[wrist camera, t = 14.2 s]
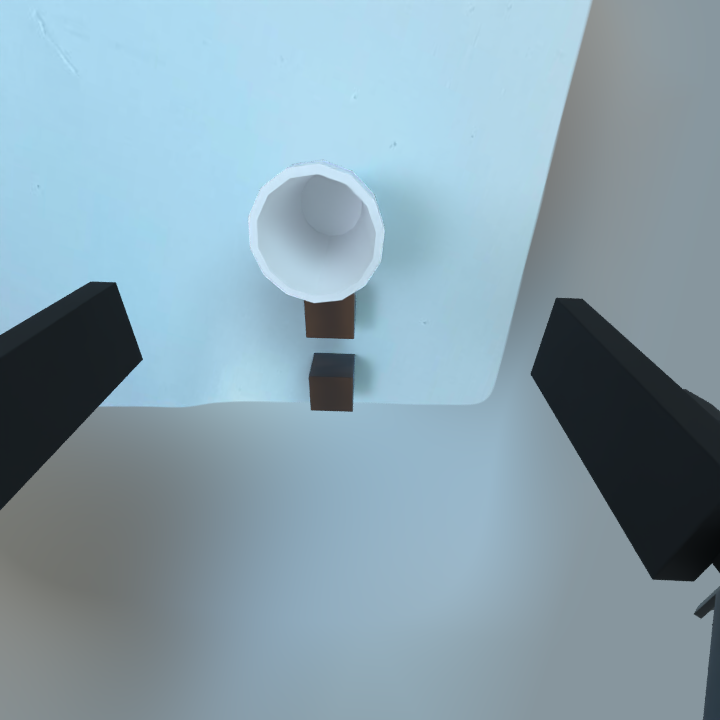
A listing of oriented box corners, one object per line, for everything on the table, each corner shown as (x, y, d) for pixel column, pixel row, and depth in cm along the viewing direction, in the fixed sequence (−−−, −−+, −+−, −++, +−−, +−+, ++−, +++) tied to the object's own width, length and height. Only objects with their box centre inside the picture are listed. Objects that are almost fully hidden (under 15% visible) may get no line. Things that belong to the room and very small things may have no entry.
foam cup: (375, 142, 34) (378, 155, 23) (384, 244, 39) (390, 295, 28) (273, 157, 35) (229, 175, 24) (295, 255, 40) (266, 308, 29)
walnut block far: (354, 354, 46) (353, 377, 42) (354, 386, 49) (352, 411, 45) (314, 352, 46) (308, 376, 42) (315, 385, 49) (310, 410, 45)
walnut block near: (356, 276, 41) (354, 294, 37) (355, 317, 44) (353, 339, 39) (310, 274, 41) (303, 293, 37) (312, 316, 44) (306, 337, 39)
